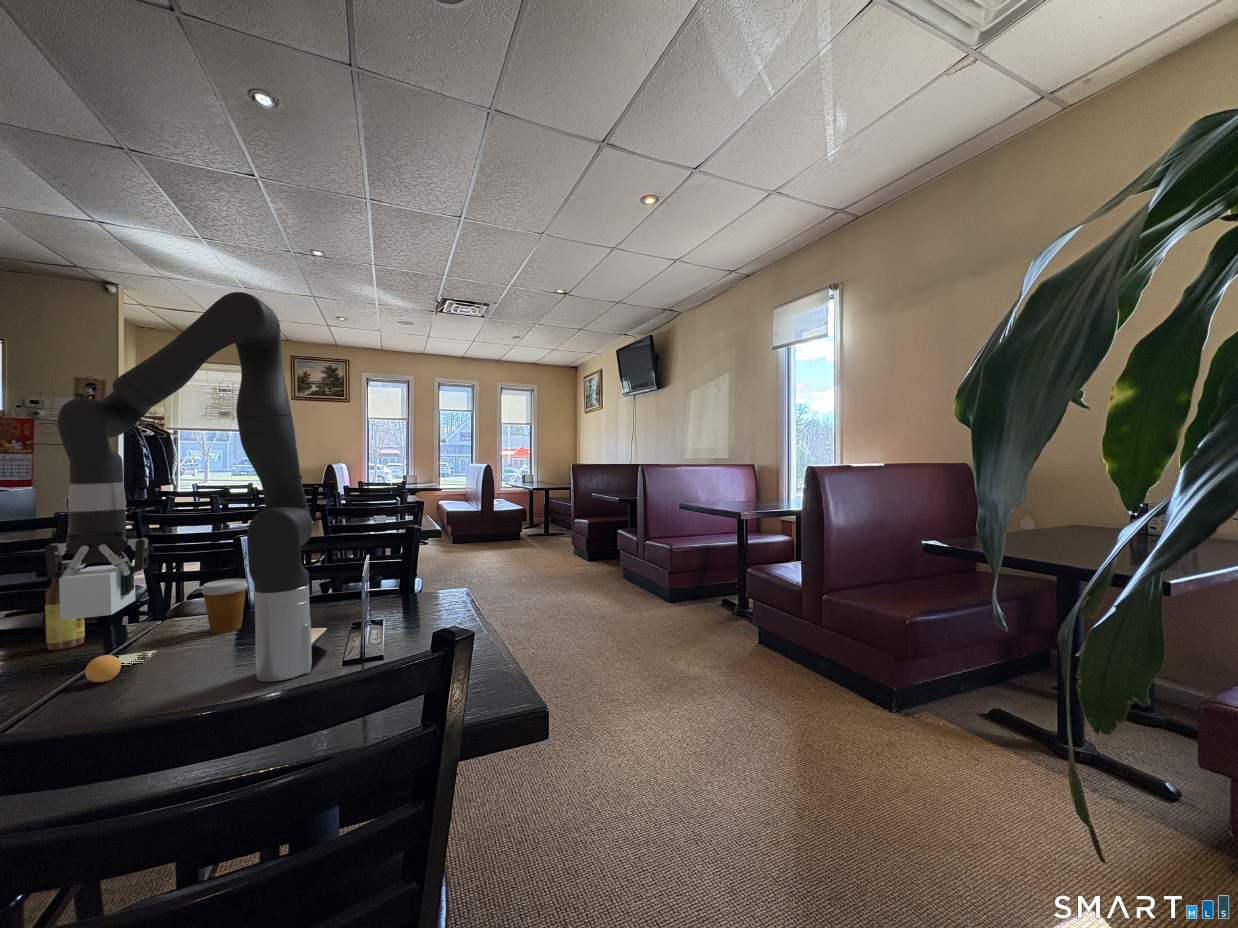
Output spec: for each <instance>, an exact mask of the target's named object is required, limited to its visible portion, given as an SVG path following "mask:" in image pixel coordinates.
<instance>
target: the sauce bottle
mask: <svg viewBox="0 0 1238 928" xmlns="http://www.w3.org/2000/svg"><path fill="white" fill-rule="evenodd" d="M72 560H73V559H72ZM72 560H62V561H63V569H64V570H65V571H66V570H67V568H68V565H69V564H70V562H71V561H72ZM44 598H45V605H44V610H45V611H44V614H45V615H44V616H45V618H44V619H45V640H46V648H47V650H49V651H61V650H65V649H72V648H74V647H78V646H80V645H82V644H84V642H85V636H86V632H85V630H86V629H85V628H86V627H85V618H77V619H68V620H60V590H59V579H58V578H51V584H50V585H49V587H48V588H47V590H46V591H45V595H44Z"/></svg>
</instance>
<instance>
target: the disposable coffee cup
mask: <svg viewBox="0 0 1238 928" xmlns="http://www.w3.org/2000/svg"><path fill="white" fill-rule="evenodd" d="M248 586H249V583H247V580H246V579H245V578H225V579H219V580H214V581H208V582H207V583H204V584H203V586H202V588H201V593H202V595H203V597H204V602H205V603H204V604H205V609H206V614H207V619H208V624H209V632H210V633H211V634H224V633H225V632H226V633H230V632H233V631H234V630H235V631H237V630H240V629H241V628H242V625H243V616H244V608H245V607H244V606H245V599H246V591H247V588H248ZM235 631H234V632H235Z"/></svg>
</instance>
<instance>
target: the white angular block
mask: <svg viewBox="0 0 1238 928" xmlns="http://www.w3.org/2000/svg"><path fill="white" fill-rule="evenodd" d="M131 564H132V566H134V562H133V563H131ZM135 573H136V572H135ZM135 573H134V589H133V591H131V592H130V594H128V595H126V596H122V595H121V576H123V575H122V573H121V572H120V570H118V569H117V567H115V566H113V564H110V565H97V566H96V565H95V566H88V567H85V568H82V569H81V570H80V571H77V572H75V573H73V574H69V575H67V576H64V577H61V578H59V590H60V620H68V619H77V618H84V619H85V618H94V617H101V616H102V617H103V616H104V617H105V616H111V615H113V614H115V613H117V612H118V611H120V610H122V609H124V608H125V607H126V606H128V605H129V604H132V603H133V602H135V601H136V574H135Z"/></svg>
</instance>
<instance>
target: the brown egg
mask: <svg viewBox="0 0 1238 928" xmlns="http://www.w3.org/2000/svg"><path fill="white" fill-rule="evenodd" d="M115 656H116V655H112V654H105V655H100V656H97V657H95V658H94V659H92V660H91V661H90V662H89V663H87V665H86V667H85V669H84V675H85V677H86V678H87V680H89V681H90V682H93V683H97V682H100V683H105V682H108V681H110V680H112V679H114V678H115V677H116V676H118V674H119V673H120V671H121V668H122V667H121V662H120V660H119V659H118V658H117V657H115ZM104 681H105V682H104Z"/></svg>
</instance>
